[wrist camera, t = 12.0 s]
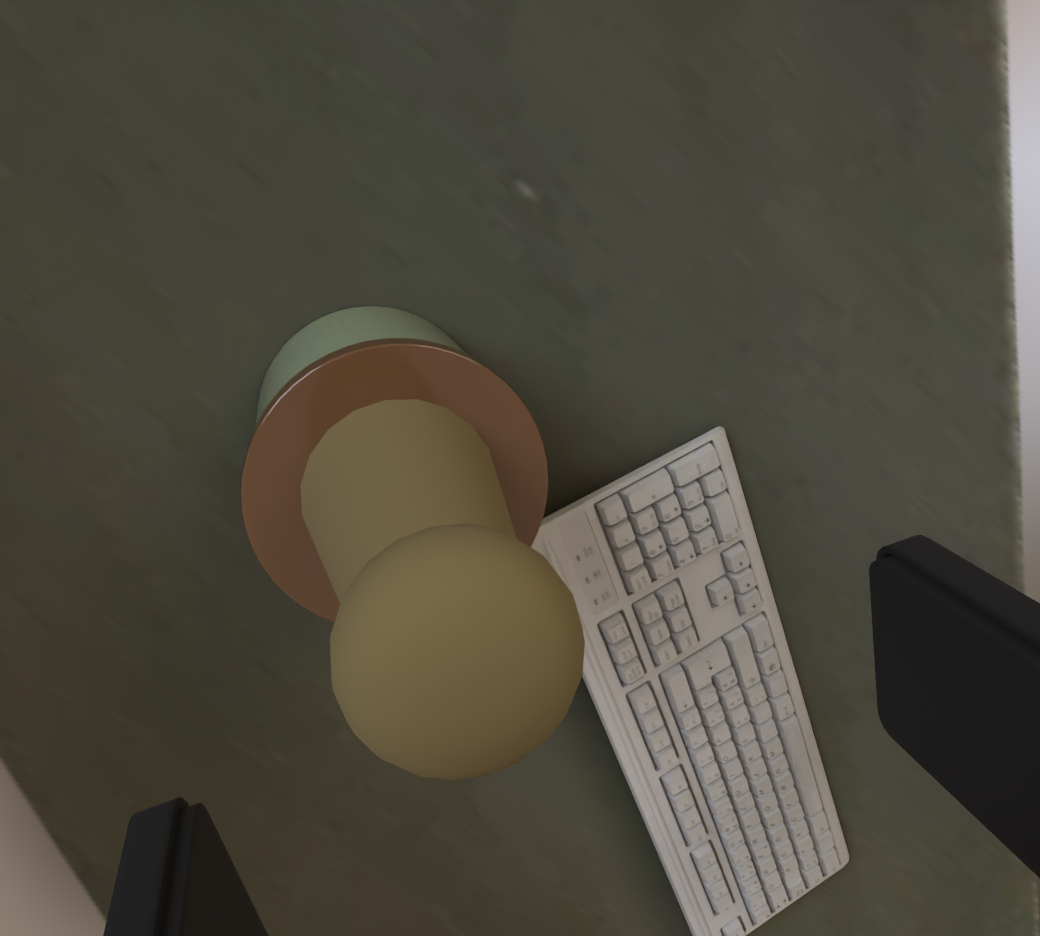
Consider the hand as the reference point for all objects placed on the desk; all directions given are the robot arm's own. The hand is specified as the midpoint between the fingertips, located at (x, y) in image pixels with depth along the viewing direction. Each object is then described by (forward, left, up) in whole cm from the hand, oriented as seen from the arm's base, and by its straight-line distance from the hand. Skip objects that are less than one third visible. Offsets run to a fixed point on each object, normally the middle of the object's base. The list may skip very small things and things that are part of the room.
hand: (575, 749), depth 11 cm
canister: (+1, -2, -24) cm, 24 cm away
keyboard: (+24, 0, -25) cm, 35 cm away
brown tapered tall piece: (+1, -2, -16) cm, 16 cm away
